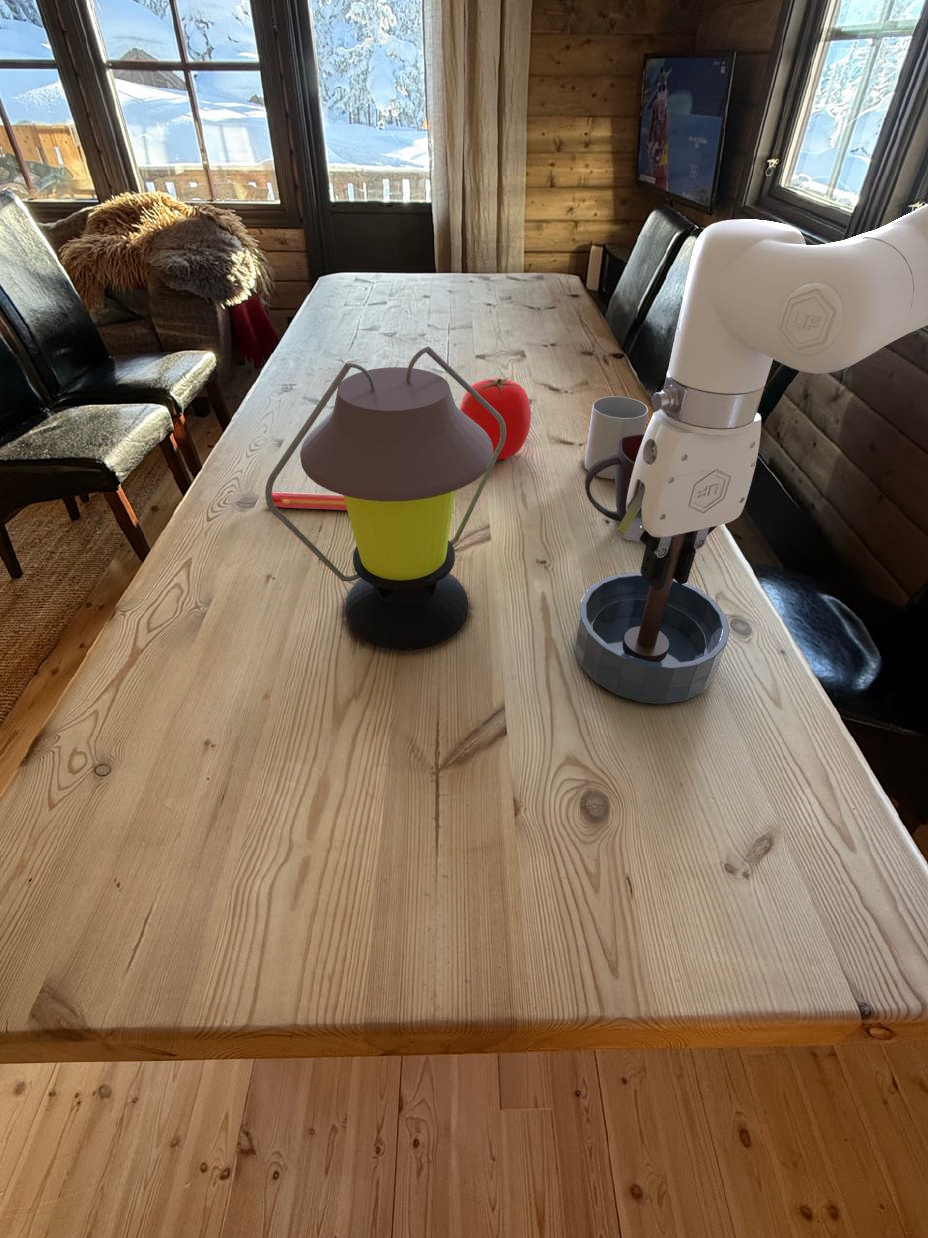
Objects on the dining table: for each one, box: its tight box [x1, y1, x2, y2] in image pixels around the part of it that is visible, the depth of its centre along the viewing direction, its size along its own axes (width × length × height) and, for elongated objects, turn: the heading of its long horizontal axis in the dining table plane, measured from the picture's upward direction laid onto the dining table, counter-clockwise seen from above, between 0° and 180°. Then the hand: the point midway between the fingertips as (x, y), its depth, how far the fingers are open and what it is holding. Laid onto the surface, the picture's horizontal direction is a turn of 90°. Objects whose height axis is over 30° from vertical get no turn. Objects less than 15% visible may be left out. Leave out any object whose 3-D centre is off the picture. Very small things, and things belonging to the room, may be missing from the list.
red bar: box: [272, 491, 347, 511], centre depth 96 cm, size 24×2×5 cm
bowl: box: [573, 571, 731, 705], centre depth 72 cm, size 15×15×6 cm
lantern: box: [264, 346, 506, 651], centre depth 70 cm, size 25×19×30 cm
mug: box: [584, 433, 645, 526], centre depth 89 cm, size 10×14×12 cm
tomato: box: [459, 377, 532, 461], centre depth 106 cm, size 12×12×13 cm
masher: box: [622, 533, 686, 662], centre depth 67 cm, size 5×5×15 cm
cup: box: [584, 395, 649, 480], centre depth 104 cm, size 8×8×10 cm
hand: (663, 577), depth 65 cm, fingers closed on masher
